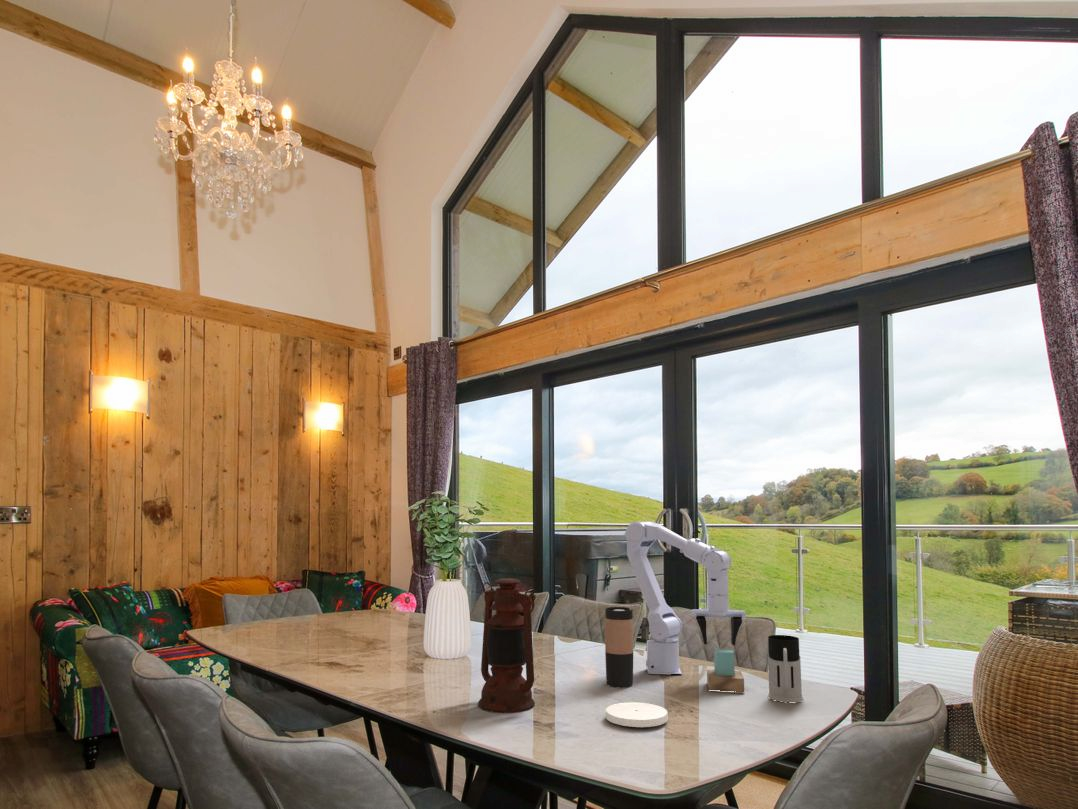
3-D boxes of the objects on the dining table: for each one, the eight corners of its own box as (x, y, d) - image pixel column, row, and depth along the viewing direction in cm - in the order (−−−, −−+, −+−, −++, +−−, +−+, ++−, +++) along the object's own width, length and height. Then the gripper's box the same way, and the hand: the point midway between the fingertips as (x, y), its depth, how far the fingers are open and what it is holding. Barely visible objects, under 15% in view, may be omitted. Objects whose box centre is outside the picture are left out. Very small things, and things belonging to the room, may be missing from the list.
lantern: (461, 704, 181) (463, 579, 185) (500, 693, 192) (501, 574, 195) (514, 718, 170) (515, 584, 174) (552, 705, 180) (552, 579, 184)
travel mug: (601, 685, 200) (600, 609, 202) (611, 679, 206) (611, 606, 209) (627, 689, 196) (627, 611, 199) (637, 683, 203) (637, 608, 205)
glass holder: (802, 695, 191) (800, 635, 192) (806, 710, 177) (804, 645, 179) (767, 693, 193) (765, 633, 195) (768, 707, 179) (766, 643, 181)
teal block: (717, 675, 196) (716, 652, 197) (714, 671, 201) (713, 648, 202) (734, 675, 196) (734, 652, 197) (731, 671, 201) (730, 648, 201)
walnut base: (709, 692, 194) (708, 677, 195) (707, 684, 203) (706, 669, 203) (744, 694, 193) (743, 678, 193) (741, 686, 201) (740, 670, 202)
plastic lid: (627, 709, 178) (626, 699, 178) (679, 721, 169) (678, 709, 170) (593, 723, 167) (593, 711, 168) (647, 736, 159) (647, 723, 159)
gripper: (693, 595, 205) (694, 646, 204) (747, 596, 204) (748, 647, 202) (690, 592, 212) (691, 641, 211) (742, 593, 211) (743, 642, 209)
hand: (719, 644), depth 207 cm, fingers open, 7 cm apart
